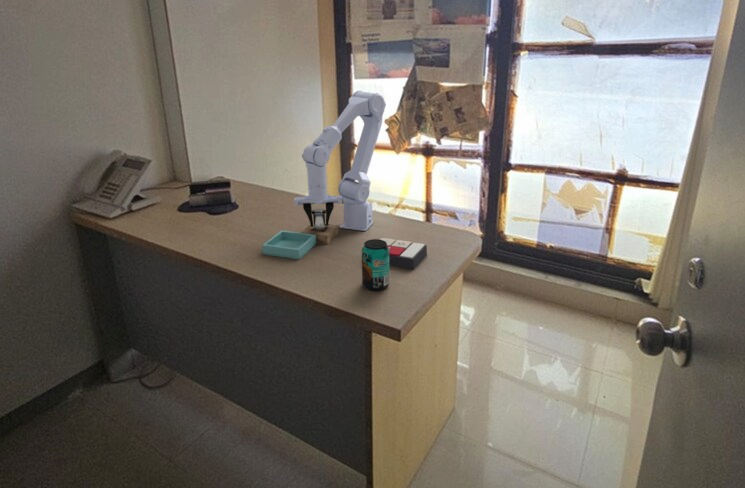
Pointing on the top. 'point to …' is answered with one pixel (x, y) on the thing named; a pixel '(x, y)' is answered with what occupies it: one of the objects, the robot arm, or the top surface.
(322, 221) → the steel pin
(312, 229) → the hole block
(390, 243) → the red white black box
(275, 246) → the tray
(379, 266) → the beverage can
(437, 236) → the top surface
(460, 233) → the top surface
